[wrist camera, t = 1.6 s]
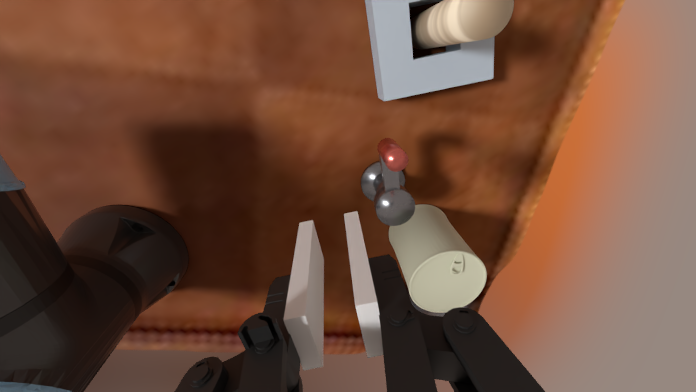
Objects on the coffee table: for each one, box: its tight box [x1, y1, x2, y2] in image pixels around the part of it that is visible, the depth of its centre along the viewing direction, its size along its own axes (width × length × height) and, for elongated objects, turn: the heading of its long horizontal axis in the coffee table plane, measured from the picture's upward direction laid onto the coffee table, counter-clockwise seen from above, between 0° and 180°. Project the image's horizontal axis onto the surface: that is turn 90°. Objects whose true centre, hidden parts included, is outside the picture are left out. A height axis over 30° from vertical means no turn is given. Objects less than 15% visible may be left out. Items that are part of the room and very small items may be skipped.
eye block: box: [365, 0, 495, 101], centre depth 30 cm, size 12×12×4 cm
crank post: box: [361, 161, 405, 201], centre depth 36 cm, size 6×6×6 cm
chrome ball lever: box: [374, 138, 415, 226], centre depth 29 cm, size 4×10×6 cm, turn 10°
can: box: [389, 204, 487, 313], centre depth 38 cm, size 9×9×12 cm
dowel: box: [410, 0, 514, 49], centre depth 26 cm, size 4×4×14 cm
